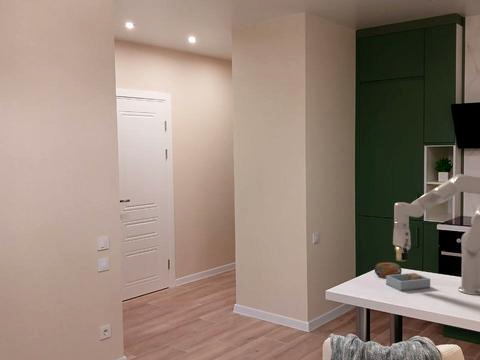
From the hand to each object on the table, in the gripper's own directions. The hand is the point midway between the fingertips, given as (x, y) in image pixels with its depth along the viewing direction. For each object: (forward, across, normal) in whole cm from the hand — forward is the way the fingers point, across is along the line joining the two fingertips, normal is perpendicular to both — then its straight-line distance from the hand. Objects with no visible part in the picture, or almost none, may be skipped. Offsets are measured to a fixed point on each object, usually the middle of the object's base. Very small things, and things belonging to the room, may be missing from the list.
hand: (401, 258), depth 264 cm
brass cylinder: (+1, 0, 0) cm, 1 cm away
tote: (+16, 0, -4) cm, 16 cm away
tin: (+16, +21, -5) cm, 27 cm away
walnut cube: (+15, 0, -8) cm, 17 cm away
